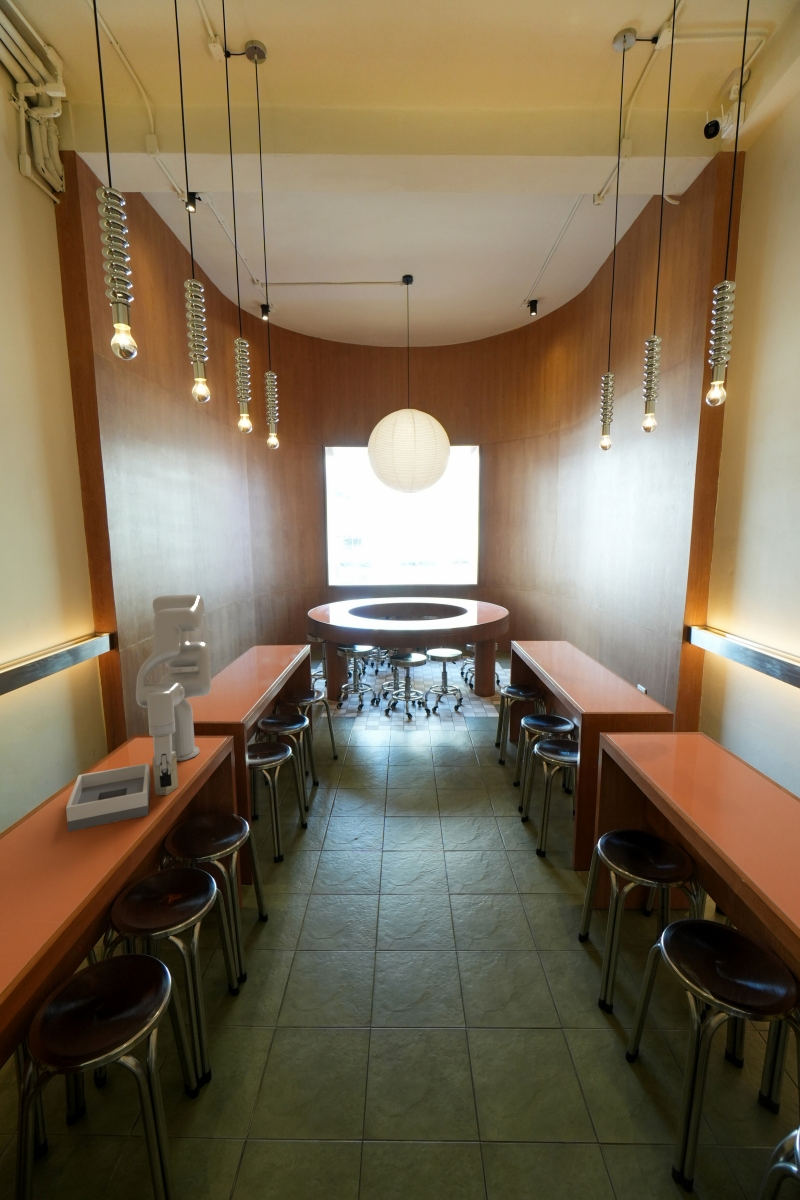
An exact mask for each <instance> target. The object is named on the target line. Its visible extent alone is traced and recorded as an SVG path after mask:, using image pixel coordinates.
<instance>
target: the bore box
mask: <svg viewBox="0 0 800 1200" xmlns="http://www.w3.org/2000/svg"><path fill="white" fill-rule="evenodd" d="M71 791H72V792H71V794H70V797H69V800H68V802H67V805H66V807H65V810H66V811H65V812H66V819H67V822H66V823H67V829H68V830H67V832H69V833H70V832H74V831H80V830H84V829H88V827H89V828H93V827H92V826H94V827H98V826H97V825H99V826H103V825H102V824H104V825H106V823H108V824H112V823H111V822H113V823H116V822H115V821H118V822H121V821H120V820H123V821H126V820H125V819H128V820H130V819H129V818H132V819H137V818H141V817H147V816H149V809H150V796H151V795H150V794H151V773H150V763H149V762H147V763H141V764H136V765H130V766H125V767H124V766H123V767H118V768H112V769H106V770H100V771H95V772H90V773H84V774H78V775H77V779H76V781H75V783H74V787H73V789H72V790H71ZM83 828H84V829H83ZM79 829H80V830H79Z"/></svg>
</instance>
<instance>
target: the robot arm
mask: <svg viewBox="0 0 800 1200" xmlns="http://www.w3.org/2000/svg"><path fill="white" fill-rule="evenodd" d="M152 601H153V602H152V609H153V612H154V621H153V622H154V623H153V640H152V642H153V643H152V644H153V645H152V646H153V647H152V653H151V654H150V656H148V658H147V659H145V661H144V662H143V663H142V665H141V666H140V668H139V670H138V673H137V674H136V675H137V677H136V684H135V687H136V688H135V699H136V703H137V704H138V706H139V707H142V708H147V718H148V720H147V721H148V730H149V736H150V737H152V740H153V742H152V744H153V745H152V746H153V755H154V757H153V758H154V760H155V767H156V768H157V767H159V765H160V787H161V788H162V787H168V786H171V785H172V782H171V773H170V765H171V764H172V751H175V752H176V762H182V761H186V760H189V759H192V758H194V757H196V756H197V755H199V753H200V748H199V746H197V745H195V730H194V729H195V728H194V715H193V706H192V705H191V703H190V702H189V701H188V700H187V698H195V697H204V696H205V697H206V696H207V695H208V694H210V692H211V690H212V689H211V688H212V672H211V671H212V670H211V653H210V647H209V645H208V644H207V643H206V642H204V641H189V632H195V631H198V630H199V627H201V626H200V625H201V622H202V618H203V614H204V610H205V603H204V600H203V598H202V596H200V595H199V594H176V595H175V594H174V595H171V594H169V595H161V596H158V597H155V598H154V599H153V600H152ZM163 664H164V665H165V666H166V667H167V668H168V669H186V668H187V669H188V668H195V669H197V670H190V671H186V670H185V671H174V672H168V673H166V674H164V675H162V677H161V678H160V681H159V682H156V683H155V682H154V683H148V679H149V676H150V674H151V673H152V672H153V670H154V669H155V668H157V667H158V666H160V665H163ZM161 763H162V765H161ZM166 763H168V764H166ZM167 767H168V768H167Z"/></svg>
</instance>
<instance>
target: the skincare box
mask: <svg viewBox="0 0 800 1200" xmlns="http://www.w3.org/2000/svg"><path fill="white" fill-rule="evenodd" d="M151 759H152V770H153V780H154V781H153V783H154V794H155V795H159V796H168V795H169V794H171V793H173V792H174V791H175V790H176V789H178V787H179V780H178V764H177V762H178V761H176V752H175V751H172V764H171V765H170V773H171V782H172V785H171V786H168V787H162V788H161V787H160V765H159V767H157V768H156V767H155V760H154V757H152V758H151ZM166 764H168V763H166ZM161 765H162V763H161ZM167 768H168V767H167Z"/></svg>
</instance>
